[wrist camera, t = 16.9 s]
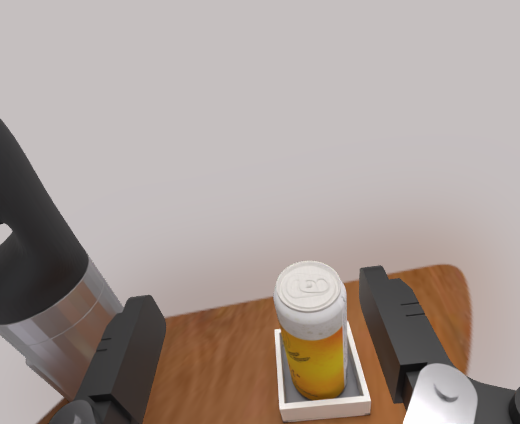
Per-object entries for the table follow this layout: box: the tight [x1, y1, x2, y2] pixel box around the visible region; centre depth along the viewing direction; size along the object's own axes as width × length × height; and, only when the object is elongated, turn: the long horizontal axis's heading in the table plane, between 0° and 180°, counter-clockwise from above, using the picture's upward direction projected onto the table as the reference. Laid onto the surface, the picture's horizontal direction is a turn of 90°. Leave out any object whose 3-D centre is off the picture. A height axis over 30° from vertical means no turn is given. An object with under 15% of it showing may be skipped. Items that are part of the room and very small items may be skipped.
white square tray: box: [275, 321, 371, 422], centre depth 33 cm, size 9×9×3 cm
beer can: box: [273, 261, 348, 401], centre depth 30 cm, size 6×6×15 cm
